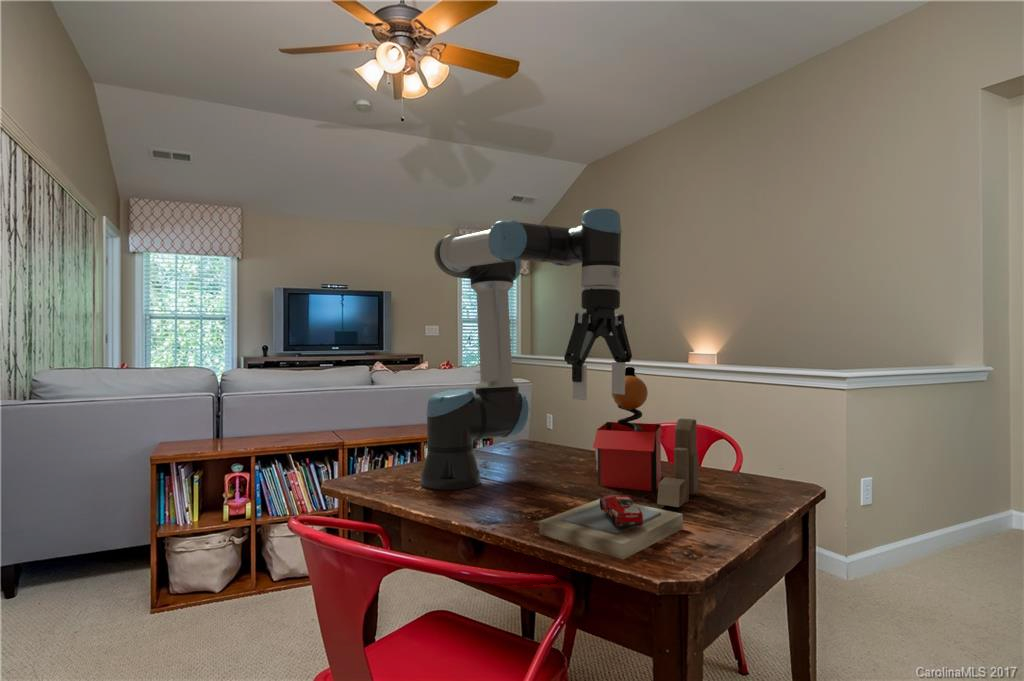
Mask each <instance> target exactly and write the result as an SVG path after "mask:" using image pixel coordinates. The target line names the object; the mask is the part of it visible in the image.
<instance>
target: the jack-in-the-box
mask: <svg viewBox="0 0 1024 681" xmlns="http://www.w3.org/2000/svg"><path fill="white" fill-rule="evenodd" d="M635 370H636V369H635V367H632V366H627V367H625V394H623V395H622V394H612V393H611V397H612V399H613V402H614V403H615V404H616V405H617V408H618V409H620V410H624V411H627V412H629V413H632V414H633V415H630V416H627V417H623V418H619V419H618V420H617V422H616V421H606V422H605V423H604V424H602V425H601V426H599V428H597V429H596V434H595V437H594V442H593V446H592V449H594V451H595V452H594V453H595V460H596V467H595V468H596V471H597V485H598V486H600V487H609V488H616V487H617V489H618V488H619V489H620V488H621V489H629V490H638V491H649V492H650V491H651V492H653V491H654V492H655V491H658V484H659V482H660V481H661V480H662V462H661V461H662V460H661V459H662V453H661V452H662V451H661V450H662V447H661V446H662V444H661V443H662V441H661V440H662V435H664V434H663V427H662V424H661V423H642V422H641V423H640V422H633V421H636V420H639V419H641V418H642V417H643V412H642V411H641V410H639V408H640V407H642V406H643V405H644V404H645V403H646V400H647V398H648V394H649V393H648V388H647V385H646V383H645V382H644V381H643V380H642V379H641V378H639V377H637V375H636V374H635V372H636V371H635Z"/></svg>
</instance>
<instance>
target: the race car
mask: <svg viewBox="0 0 1024 681" xmlns="http://www.w3.org/2000/svg"><path fill="white" fill-rule="evenodd" d="M599 499H600V508H601V510H603V511H604V512H605V513H606V514H607V516H608V517H609V518H610V519H611V520H612V522H613V524H614V525H618V526H625V527H627V526H637V525H638V526H640V525H643V515H642V512H641V510H640V509H639V508H638V506H637V505H636V504H637V503H636V502H635V501H634V500H633V497H630V496H629V495H618V494H608V495H604V496H601V498H599Z"/></svg>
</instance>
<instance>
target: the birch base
mask: <svg viewBox="0 0 1024 681" xmlns="http://www.w3.org/2000/svg"><path fill="white" fill-rule="evenodd" d="M600 499H601V498H598V499H596V500H592V501H591V502H587V503H585V504H582V505H579V506H577V507H573V508H572V509H571V508H570V509H569V510H566V511H564V512H561V513H557V514H555V515H553V516H549V517H547V518H544V519H541V520H539V522H538V525H539V529H538V530H539V532H538V533H539V535H540V536H545V537H548V538H550V539H554V540H557V539H558V541H561V542H565V543H567V544H570V545H574V546H578V547H581V548H583V549H587V550H590V551H594V552H597V553H600V554H603V555H606V556H609V557H613V558H616V559H619V560H625V559H627V558H629V557H631V556H633V555H634V554H637V553H639V552H640V551H642V550H644V549H646V548H649V547H651V546H652V545H654V544H656V543H658V542H660V541H663V540H664V539H665V538H668V537H670V536H672V535H674V534H675V533H678V532H679V531H681V530H683V529H684V528H683V526H684V525H683V524H684V523H683V522H684V520H683V519H684V517H683V513H681V512H674V511H670V510H666V509H661V508H657V507H651V506H646V505H643V504H637V503H635V504H636V505H637V506H638V508H639V509H640V510H641V512H642V515H643V525H640V526H638V525H637V526H627V527H625V526H618V525H614V524H613V522H612V520H611V519H610V518H609V517H608V516H607V514H606V513H605V512H604V511H603V510H601V508H600Z"/></svg>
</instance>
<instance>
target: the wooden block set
mask: <svg viewBox="0 0 1024 681" xmlns="http://www.w3.org/2000/svg"><path fill="white" fill-rule="evenodd" d="M674 447H675V448H673V477H666V476H665V477H663V479H662V478H661V480H660V482H659V484H658V488H657V499H656V503H657V505H662V506H668V507H674V508H680V507H681V506H682V505H684V504H687V503H689V500H690V499H689V498H690V496H689V495H695V493H696V494H697V492H698V491H699V453H698V452H697V448H698V447H697V420H696V419H693V418H691V419H690V418H679V419H677V421H676V423H675V428H674Z"/></svg>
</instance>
